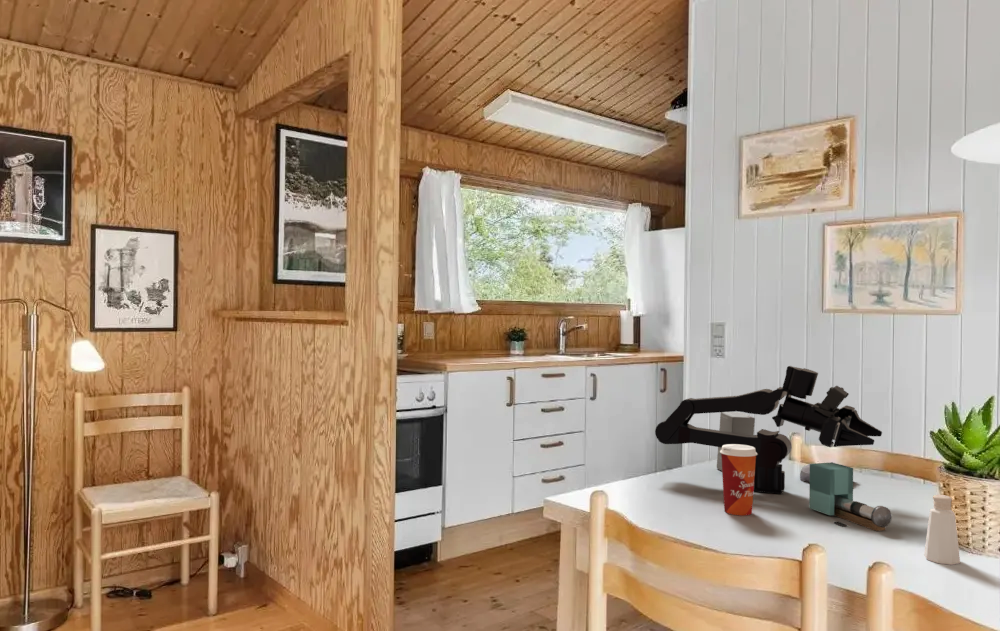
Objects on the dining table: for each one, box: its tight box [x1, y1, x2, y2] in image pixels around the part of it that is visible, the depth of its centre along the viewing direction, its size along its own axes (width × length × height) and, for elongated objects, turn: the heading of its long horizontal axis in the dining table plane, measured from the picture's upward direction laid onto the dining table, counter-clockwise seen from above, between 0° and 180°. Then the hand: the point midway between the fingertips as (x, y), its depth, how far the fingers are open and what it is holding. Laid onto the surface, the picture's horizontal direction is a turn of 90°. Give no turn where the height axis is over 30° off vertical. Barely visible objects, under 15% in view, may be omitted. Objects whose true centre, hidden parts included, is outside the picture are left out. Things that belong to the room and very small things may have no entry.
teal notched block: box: [808, 461, 854, 516], centre depth 154 cm, size 6×6×10 cm
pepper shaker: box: [923, 494, 961, 566], centre depth 124 cm, size 5×5×11 cm
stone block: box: [799, 463, 811, 483], centre depth 183 cm, size 12×5×10 cm
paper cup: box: [720, 444, 757, 517], centre depth 154 cm, size 8×8×14 cm
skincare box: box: [716, 411, 756, 472], centre depth 193 cm, size 8×7×16 cm
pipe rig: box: [833, 495, 892, 532], centre depth 149 cm, size 18×11×5 cm, turn 17°
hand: (877, 438), depth 159 cm, fingers open, 9 cm apart
